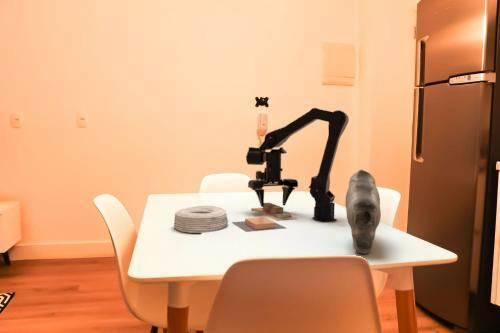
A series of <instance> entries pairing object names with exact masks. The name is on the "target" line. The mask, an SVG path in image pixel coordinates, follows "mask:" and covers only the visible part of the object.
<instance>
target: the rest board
mask: <svg viewBox="0 0 500 333" xmlns="http://www.w3.org/2000/svg"><path fill="white" fill-rule="evenodd" d="M251 212H257V213H259V214H262V215H264V216H266V217H268V218H269V219H270V218H271V220H274V221H278V222H280V221H291V220H292V221H293V220H298V218H297V217H295V216H292V218H283V219H278V218H276V217H274V215H272V214H270V213H268V212H265V211H263V207H254V208H253V207H252V208H251ZM283 214H284V212H283Z"/></svg>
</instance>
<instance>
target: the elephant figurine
mask: <svg viewBox="0 0 500 333" xmlns="http://www.w3.org/2000/svg"><path fill="white" fill-rule="evenodd" d="M345 211H346V219H347V222H348V224H349V227H350V229H351V230H350V231H351V238H352V247H353V250H355V252H357V253H358V254H363V255H366V254H369V253H371V251H372V249H373V247H374V246H373V245H374V241H375V236H376V231H377V228H378V226H379V224H380V223H381V212H382V211H381V198H380V193H379V191H378V188H377V184H376V180H375V178H374V176H373V174H371V173H370V172H368V171H366V170H363V169H362V168H361V169H359V170H357V171H356V172H354V173H353V174H352V175H351V176H350V178H349V182H348V188H347V191H346V194H345Z"/></svg>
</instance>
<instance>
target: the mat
mask: <svg viewBox="0 0 500 333" xmlns="http://www.w3.org/2000/svg"><path fill="white" fill-rule="evenodd" d="M275 223H276V228H271V229H260V230H255V229H254V228H252V227H250V226H249V225H247V224H245V220H243V221H232V222H231V224H233V225H234V226H236V227H237V228H239V229H241V230H242V231H244V232H246V233H250V232H259V231H260V232H262V231H270V230H271V231H273V230H283V229H287V227H286V226H283V225H281V224H280V223H277V222H275Z"/></svg>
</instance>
